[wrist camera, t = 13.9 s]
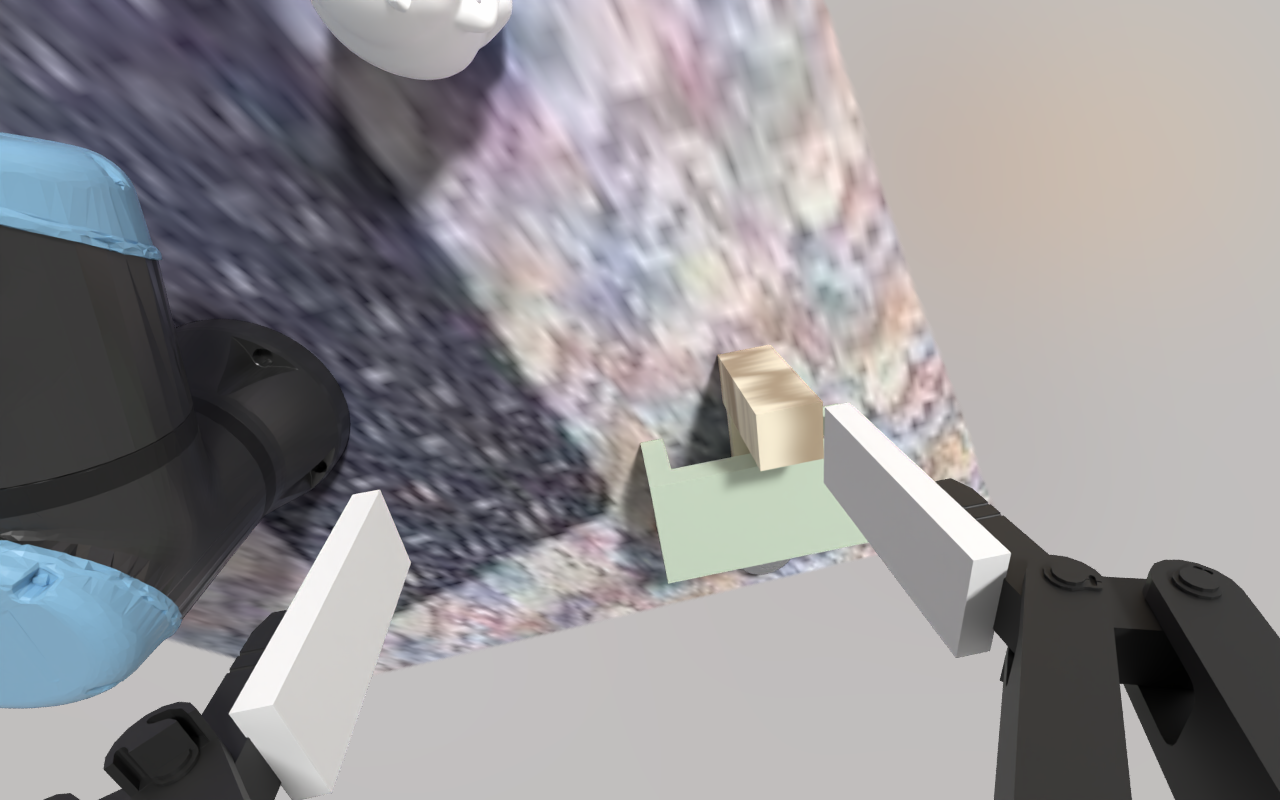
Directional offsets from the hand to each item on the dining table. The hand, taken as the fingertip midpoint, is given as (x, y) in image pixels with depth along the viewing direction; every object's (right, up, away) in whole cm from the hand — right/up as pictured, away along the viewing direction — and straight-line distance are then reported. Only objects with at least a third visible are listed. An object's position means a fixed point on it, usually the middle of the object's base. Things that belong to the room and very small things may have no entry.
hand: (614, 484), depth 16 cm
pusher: (+11, -1, +34) cm, 36 cm away
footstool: (+10, -4, +35) cm, 37 cm away
